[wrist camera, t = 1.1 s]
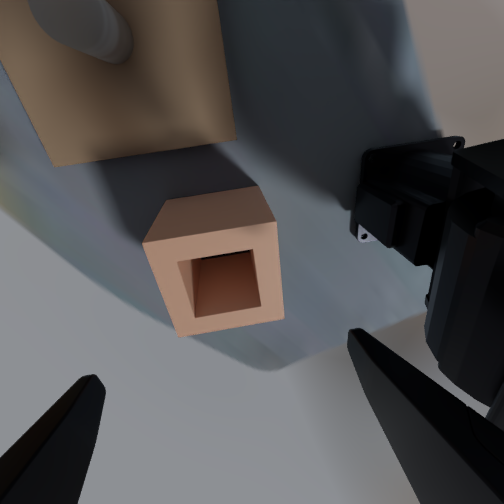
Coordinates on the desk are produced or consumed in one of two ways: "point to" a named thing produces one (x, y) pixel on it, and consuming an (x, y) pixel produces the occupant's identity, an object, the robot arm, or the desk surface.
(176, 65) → the pin board
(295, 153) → the desk surface
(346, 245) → the desk surface
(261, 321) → the collar
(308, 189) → the desk surface
